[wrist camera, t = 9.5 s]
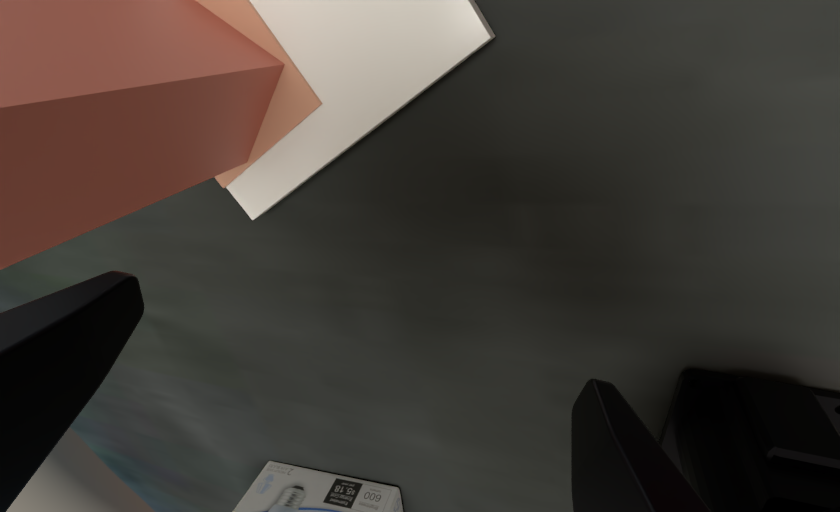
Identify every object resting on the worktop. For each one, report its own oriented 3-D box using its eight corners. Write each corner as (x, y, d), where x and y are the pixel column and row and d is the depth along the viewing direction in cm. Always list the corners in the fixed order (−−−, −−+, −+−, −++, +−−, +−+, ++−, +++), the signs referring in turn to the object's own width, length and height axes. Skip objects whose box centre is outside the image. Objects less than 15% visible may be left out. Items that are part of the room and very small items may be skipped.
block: (284, 64, 19) (-64, 117, 9) (246, 162, 21) (-55, 293, 11) (182, -9, 19) (-293, -43, 8) (157, 99, 21) (-231, 172, 11)
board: (314, -267, 15) (292, -292, 14) (495, 36, 17) (489, 37, 16) (115, 19, 22) (89, 20, 21) (266, 211, 24) (250, 221, 23)
